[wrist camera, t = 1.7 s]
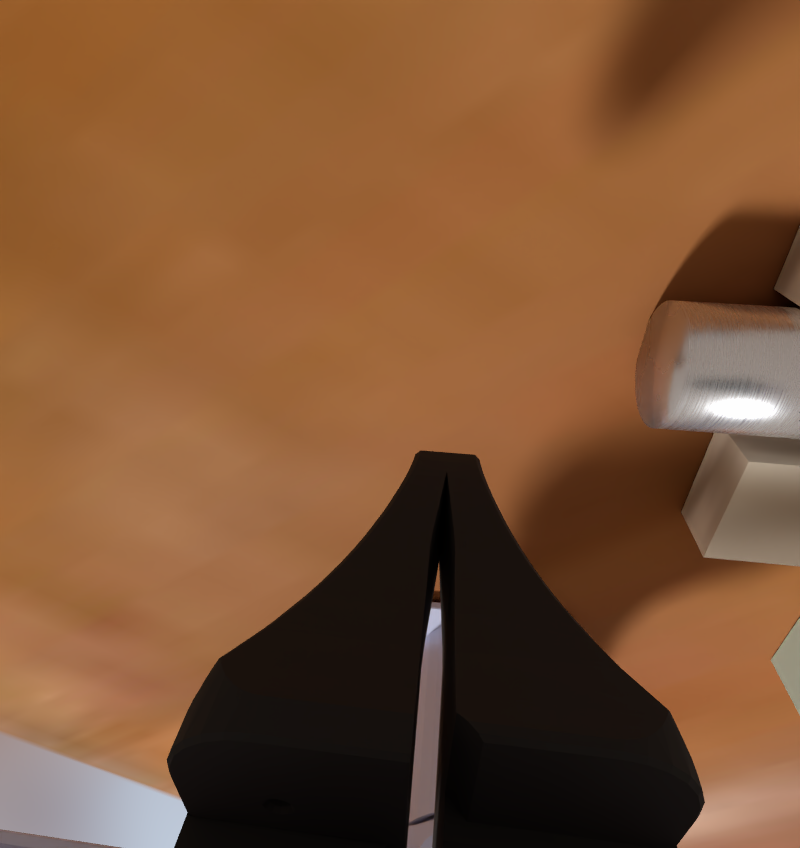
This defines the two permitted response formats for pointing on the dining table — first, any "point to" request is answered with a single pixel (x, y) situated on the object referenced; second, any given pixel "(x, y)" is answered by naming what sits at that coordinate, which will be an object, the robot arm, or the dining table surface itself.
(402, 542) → the robot arm
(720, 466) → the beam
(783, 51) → the dining table surface
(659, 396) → the axle
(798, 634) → the v block
